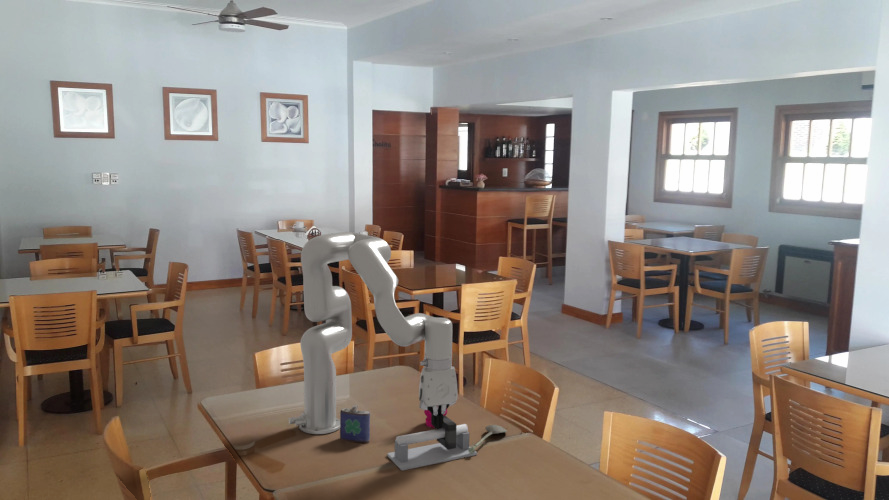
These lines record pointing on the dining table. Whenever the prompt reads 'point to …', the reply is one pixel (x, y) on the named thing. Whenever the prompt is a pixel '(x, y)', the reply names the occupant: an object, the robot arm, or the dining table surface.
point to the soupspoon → (492, 430)
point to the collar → (448, 434)
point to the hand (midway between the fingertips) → (437, 426)
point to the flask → (354, 425)
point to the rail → (429, 448)
